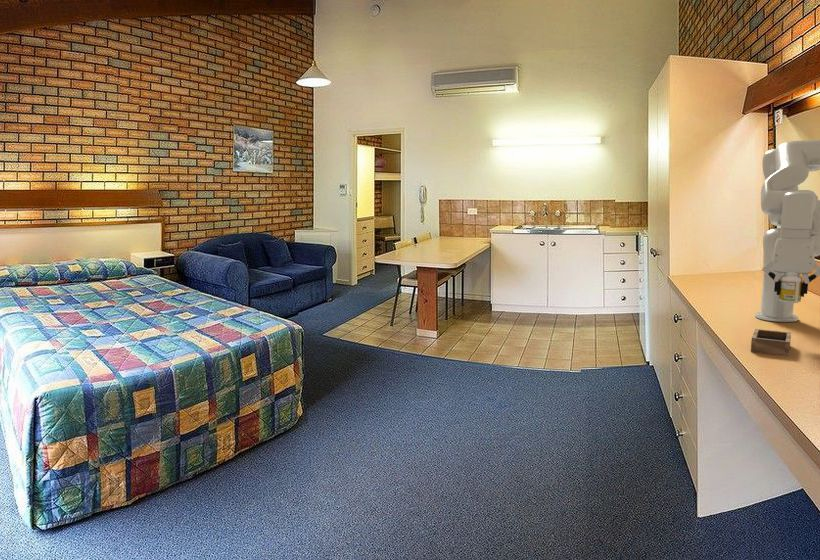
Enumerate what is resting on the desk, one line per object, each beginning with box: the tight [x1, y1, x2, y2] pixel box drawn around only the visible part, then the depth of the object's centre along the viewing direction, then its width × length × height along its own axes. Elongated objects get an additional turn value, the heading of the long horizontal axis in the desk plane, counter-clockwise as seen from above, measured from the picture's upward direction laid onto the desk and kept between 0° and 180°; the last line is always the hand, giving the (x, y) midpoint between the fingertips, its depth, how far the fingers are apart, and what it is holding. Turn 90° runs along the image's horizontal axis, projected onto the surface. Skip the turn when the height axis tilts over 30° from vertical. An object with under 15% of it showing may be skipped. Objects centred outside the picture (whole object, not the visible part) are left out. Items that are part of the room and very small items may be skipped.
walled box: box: [750, 328, 792, 357], centre depth 160 cm, size 12×9×4 cm
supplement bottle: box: [779, 272, 804, 304], centre depth 165 cm, size 5×5×10 cm
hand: (790, 294), depth 166 cm, fingers closed on supplement bottle, 5 cm apart
